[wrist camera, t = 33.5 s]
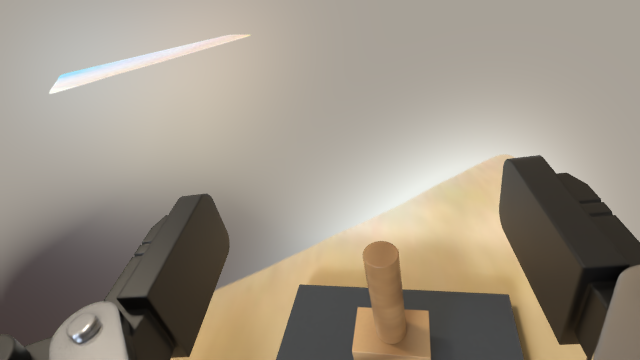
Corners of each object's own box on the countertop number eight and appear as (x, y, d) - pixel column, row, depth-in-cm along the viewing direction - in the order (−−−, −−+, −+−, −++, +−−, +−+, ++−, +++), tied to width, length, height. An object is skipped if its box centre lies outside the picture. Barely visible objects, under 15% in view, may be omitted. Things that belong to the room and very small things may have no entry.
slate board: (263, 423, 32) (258, 415, 32) (302, 292, 43) (299, 284, 43) (545, 469, 26) (548, 461, 25) (507, 303, 37) (508, 294, 36)
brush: (357, 373, 33) (332, 276, 26) (362, 328, 36) (341, 232, 29) (431, 380, 31) (427, 278, 24) (429, 333, 35) (425, 232, 27)
